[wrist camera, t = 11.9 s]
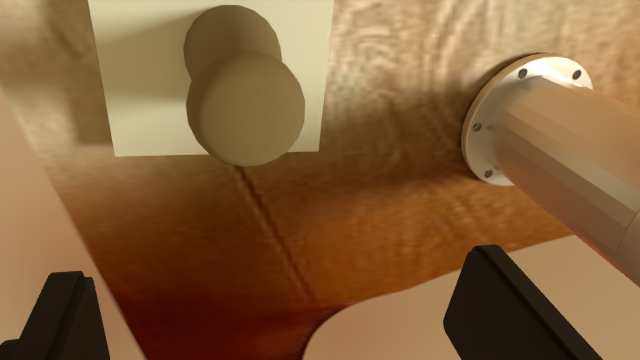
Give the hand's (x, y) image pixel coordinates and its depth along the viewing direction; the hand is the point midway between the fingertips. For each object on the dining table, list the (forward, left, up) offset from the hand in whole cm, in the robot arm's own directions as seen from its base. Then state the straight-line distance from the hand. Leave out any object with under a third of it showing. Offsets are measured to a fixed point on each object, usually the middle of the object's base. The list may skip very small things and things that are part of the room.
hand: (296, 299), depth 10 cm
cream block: (+1, -1, -23) cm, 23 cm away
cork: (0, -1, -20) cm, 20 cm away
